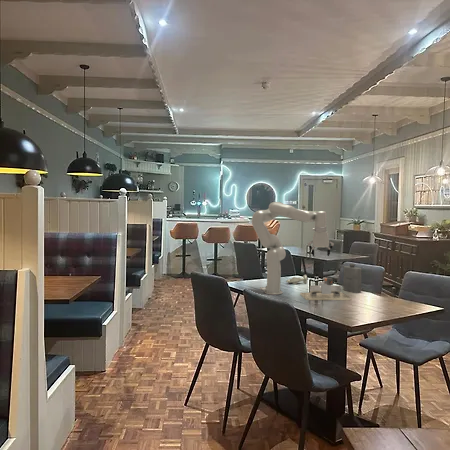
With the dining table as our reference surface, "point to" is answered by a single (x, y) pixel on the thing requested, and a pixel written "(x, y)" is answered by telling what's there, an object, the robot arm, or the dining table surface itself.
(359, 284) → the flask
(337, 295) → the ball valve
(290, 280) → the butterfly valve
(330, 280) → the valve lever
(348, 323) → the dining table surface
